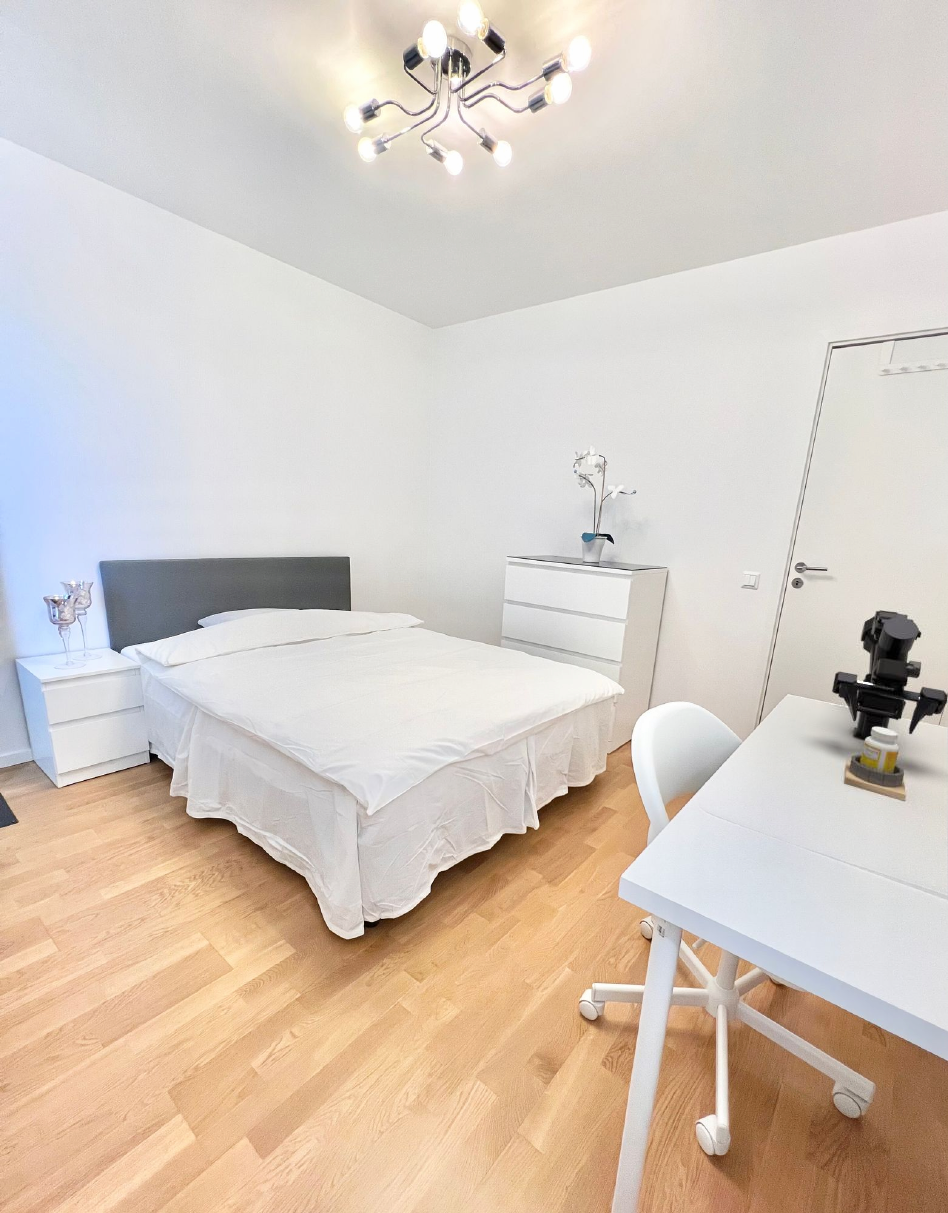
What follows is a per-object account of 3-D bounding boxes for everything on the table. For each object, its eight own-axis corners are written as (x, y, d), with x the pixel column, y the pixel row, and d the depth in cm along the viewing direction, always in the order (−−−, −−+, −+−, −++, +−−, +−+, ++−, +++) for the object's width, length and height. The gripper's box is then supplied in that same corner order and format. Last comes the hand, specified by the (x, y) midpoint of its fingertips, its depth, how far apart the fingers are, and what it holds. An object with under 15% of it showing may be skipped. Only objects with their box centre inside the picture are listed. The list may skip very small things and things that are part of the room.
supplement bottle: (860, 777, 101) (869, 731, 99) (855, 766, 105) (865, 722, 103) (894, 785, 98) (905, 739, 96) (888, 774, 103) (898, 729, 101)
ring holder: (846, 765, 108) (849, 748, 108) (901, 780, 103) (905, 763, 102) (844, 783, 100) (847, 765, 100) (904, 800, 95) (908, 782, 94)
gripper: (842, 636, 113) (831, 696, 106) (956, 653, 102) (952, 721, 95) (837, 663, 120) (826, 720, 114) (942, 681, 110) (937, 746, 103)
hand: (882, 726), depth 106 cm, fingers open, 9 cm apart
